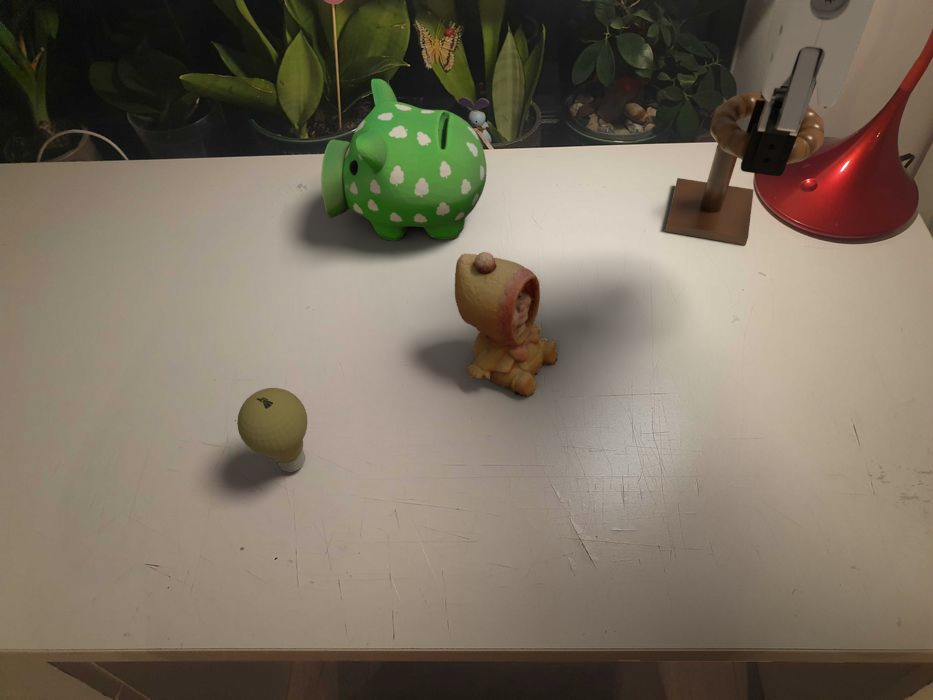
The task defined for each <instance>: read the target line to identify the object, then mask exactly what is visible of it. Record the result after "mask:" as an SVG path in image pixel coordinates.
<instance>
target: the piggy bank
mask: <svg viewBox="0 0 933 700" xmlns="http://www.w3.org/2000/svg"><path fill="white" fill-rule="evenodd" d="M370 87H371V92H372V97H373V102H374V103H373V104H374V107H373V108H372V110H371V111H370V112H369V113H368V114H367V116H365V118H364V119H363V120H362V121H360V124H358V126H357V127H356V129H355V130H354V132H353V135H352V137H351V141H350V142H349V141H345V140H342V139H341V140H340V139H334V138H333V139H330V140H329V141H328V142H327V145H326V148H325V151H324V154H323V158H322V164H321V177H320V179H321V180H320V181H321V182H320V183H321V184H320V185H321V193H322V199H323V204H324V208H325V212H326V215H327V217H329V218H330V219H332V218H334V217H337V216H341V215H343V214H344V213H346V212H347V211H349V210H351V211H353V212H354V213H356V214H358V215H360V216H361V217H363V218H365V219H367V220H368V221H369V222H370V223H371V225H372V226H373V229H374V231H375V233H376V234H377V235H378V236H379V237H381V238H382V239H383V240H386V241H397V242H398V241H400V240H401V239H403V237H404V236H405V235H406V233H407V230H408V227H417V228H423V229H424V230H425V231H426V233H427V235H429V236H430V237H431V238H433V239H436V240H451V239H456V238H458V237H459V236H460V235H461V233H462V232H463V230H464V227H465V223H466V218H467V216H469V215H470V214H471V213H472V211H473V210H474V209H475V207H476V206H477V204H478V202H479V201H480V199H481V197H482V195H483V191H484V188H485V186H486V182H487V181H486V180H487V160H486V155H485V150H484V147H483V144H482V142H481V139H480V137H479V135H478V134H477V131H475V129H474V128H473V126H471V125H470V124H469V122H467V121H466V120H465V119H463V118H462V117H460V116H459V115H457V114H455V113H453V112H450V111H448V110H445V109H425V108H420V107H417V106H414V105H411V104H409V103H404V102H400V101H398V99H397V97H396V94H395V93H394V91H393V89H392V87H391V86H390V85H389V83H387V81H385V80H383V79H381V78H372V79H371V82H370Z"/></svg>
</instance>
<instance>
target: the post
mask: <svg viewBox="0 0 933 700" xmlns="http://www.w3.org/2000/svg"><path fill="white" fill-rule="evenodd" d="M737 160H738V158H737V157H735V156H733V155H731V154H729V153H727V152H725V151H724V150H723V149H722V148H721V147H720V146H719V144H718V143H717V145H716V148H715V151H714V155H713V159H712V162H711V166H710V170H709V174H708V177H707V180H706V181H700V180H693V179H687V178H681V177H677V178H676V182H675V186H674V191H673V195H672V200H671V204H670V208H669V213H668V217H667V221H666V226H665V232H667V233H672V234H679V235H684V236H689V237H694V238H701V239H707V240H711V241H712V240H714V241H718V242H725V243H731V244H736V245H742V246H746V245H747V242H748V240H749V235H750V226H751V218H752V217H751V215H752V209H753V199H754V188H746V187H740V186H733V185H730V183H731V179H732V176H733V173H734V170H735V166H736V164H737Z"/></svg>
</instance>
